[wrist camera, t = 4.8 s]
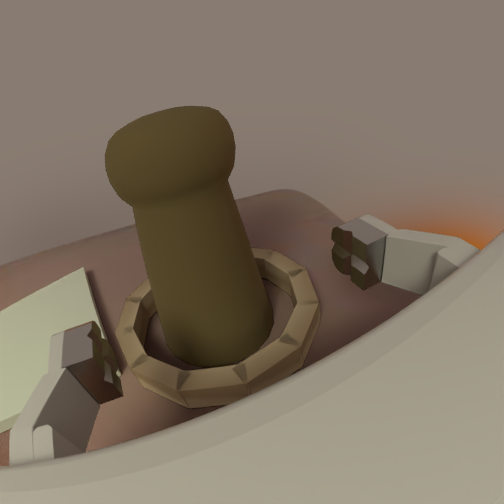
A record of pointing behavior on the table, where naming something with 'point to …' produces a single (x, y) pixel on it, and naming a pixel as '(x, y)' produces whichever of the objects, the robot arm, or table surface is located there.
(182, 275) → the cork
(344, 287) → the table surface
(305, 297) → the ring
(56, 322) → the ceramic tile
